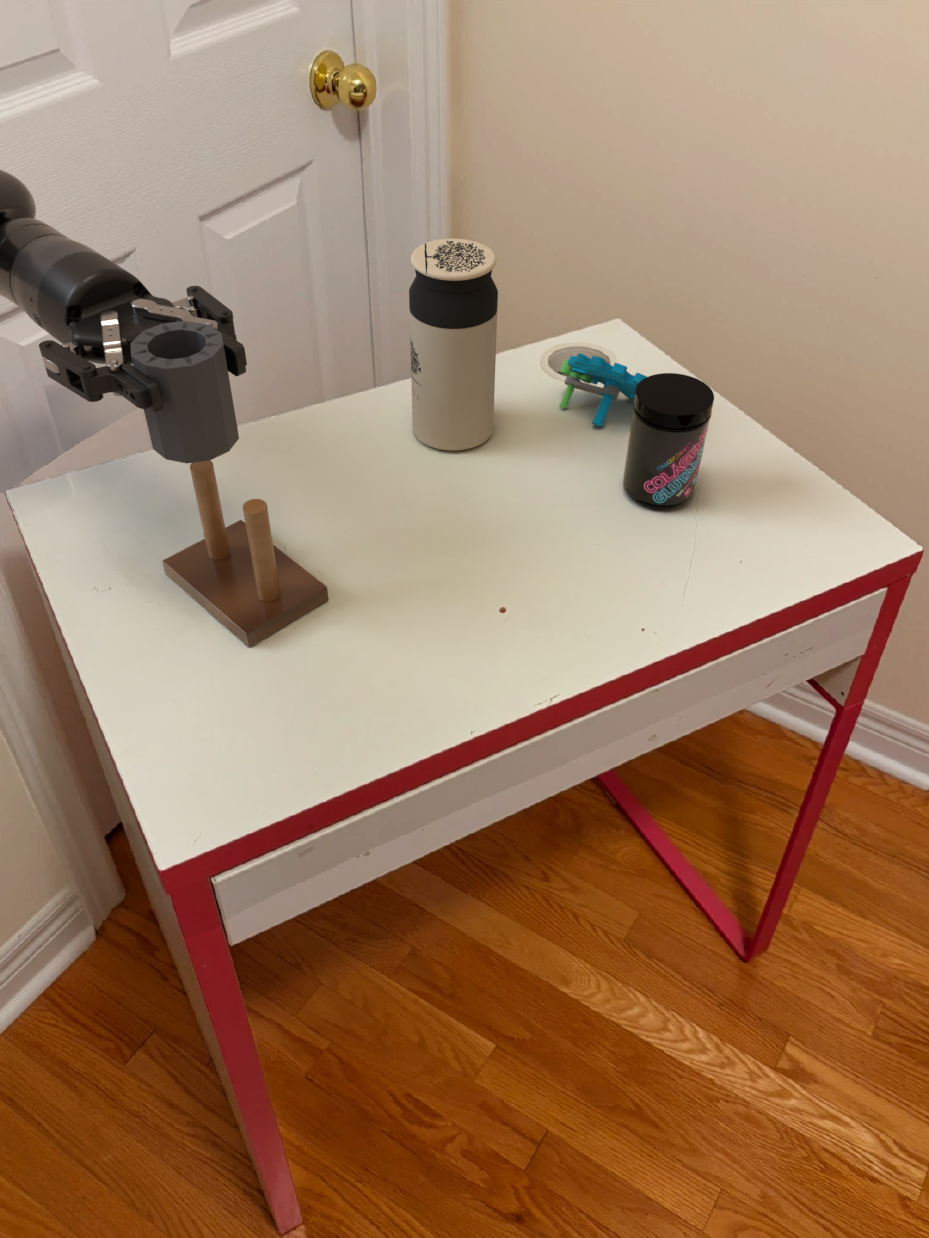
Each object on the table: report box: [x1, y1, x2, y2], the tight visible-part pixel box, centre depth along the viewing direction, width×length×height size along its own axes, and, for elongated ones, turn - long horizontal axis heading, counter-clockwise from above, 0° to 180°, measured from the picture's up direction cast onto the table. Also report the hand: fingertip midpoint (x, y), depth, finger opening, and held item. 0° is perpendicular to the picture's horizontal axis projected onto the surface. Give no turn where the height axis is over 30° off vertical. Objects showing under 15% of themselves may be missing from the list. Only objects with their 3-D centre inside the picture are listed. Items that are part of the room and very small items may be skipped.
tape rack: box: [161, 460, 329, 648], centre depth 84 cm, size 12×8×10 cm, turn 44°
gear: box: [559, 352, 648, 428], centre depth 104 cm, size 11×6×10 cm
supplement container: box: [622, 372, 715, 511], centre depth 94 cm, size 7×7×10 cm
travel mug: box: [408, 238, 499, 451], centre depth 98 cm, size 8×8×18 cm
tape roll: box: [131, 321, 240, 464], centre depth 77 cm, size 6×6×8 cm
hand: (200, 380), depth 75 cm, fingers closed on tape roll, 6 cm apart
